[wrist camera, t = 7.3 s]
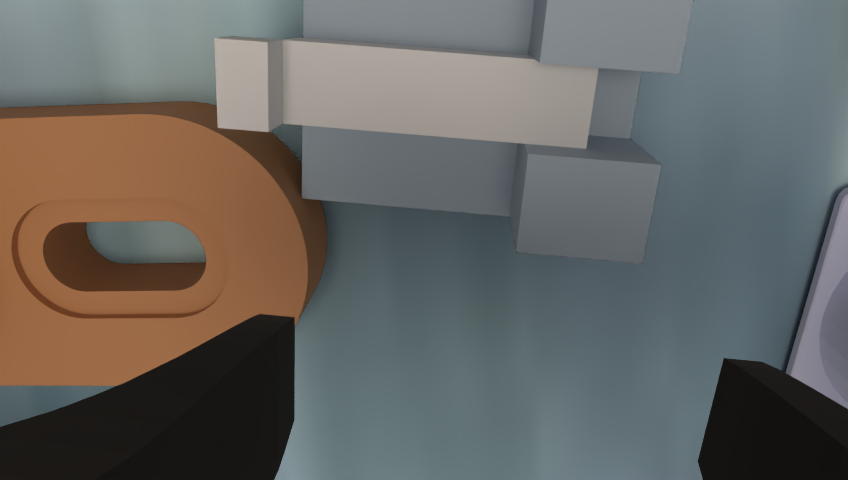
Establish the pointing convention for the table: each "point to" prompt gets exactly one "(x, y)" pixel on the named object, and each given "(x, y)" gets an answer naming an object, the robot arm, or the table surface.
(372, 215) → the table surface
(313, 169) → the vise
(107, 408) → the robot arm
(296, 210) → the bracket
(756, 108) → the table surface
